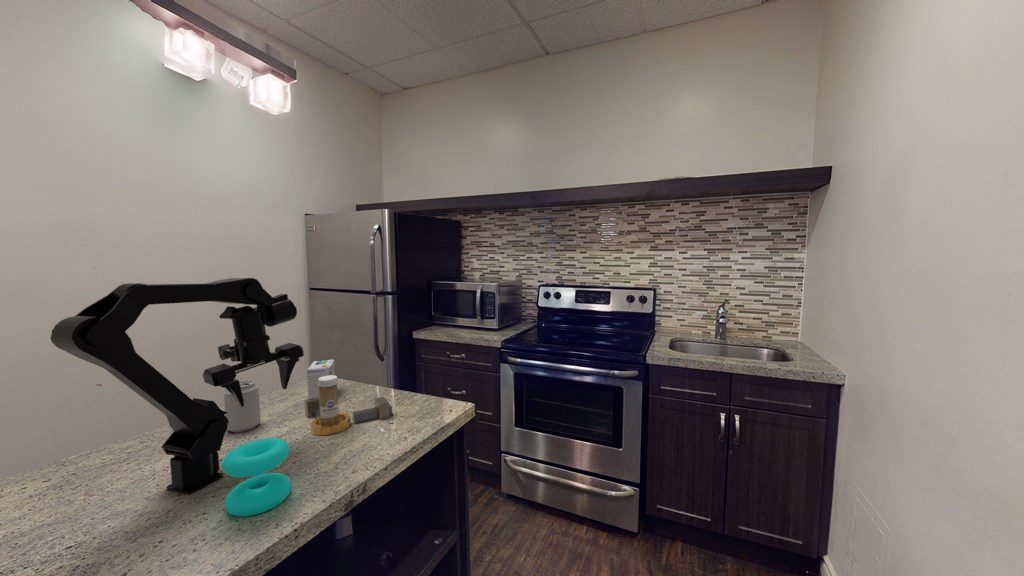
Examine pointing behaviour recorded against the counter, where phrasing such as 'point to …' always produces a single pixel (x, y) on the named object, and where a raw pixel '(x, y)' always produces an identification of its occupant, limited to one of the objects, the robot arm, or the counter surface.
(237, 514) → the donuts
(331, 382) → the sprinkles bottle
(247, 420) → the can
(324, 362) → the light bulb box
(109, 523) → the counter surface
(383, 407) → the coupling jig
